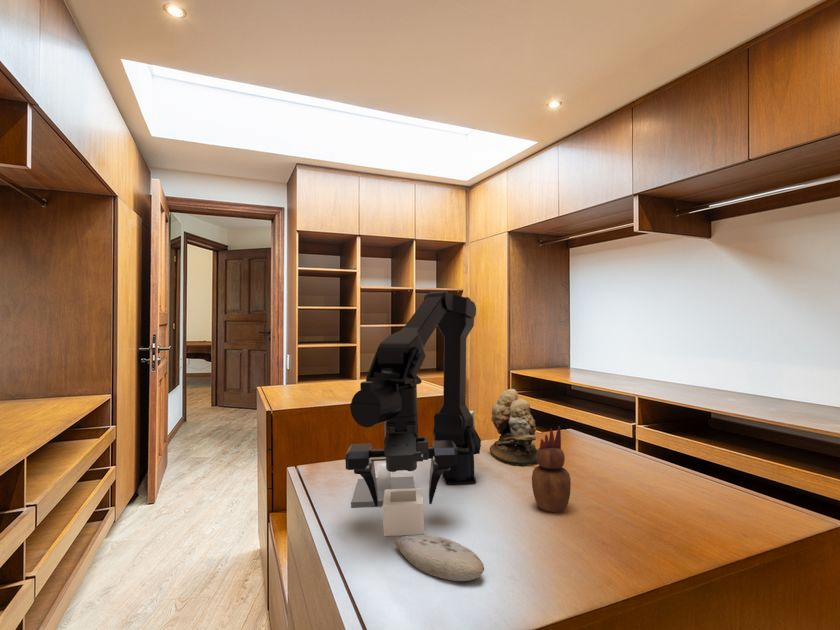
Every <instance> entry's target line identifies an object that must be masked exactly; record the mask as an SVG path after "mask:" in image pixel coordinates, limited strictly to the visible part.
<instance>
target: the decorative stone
mask: <svg viewBox="0 0 840 630" xmlns="http://www.w3.org/2000/svg"><path fill="white" fill-rule="evenodd" d="M394 545H395V547H396V548H397V549H398V550H399V551H400V553H401V554H402V555H403V556H404V558H405V559H406V560H407V561H408V562H409V563H410V564H411V565H412V566H414V568H417V569H419V570H420V571H421V572H423V573H426V574H428V575H430V576H433V577H436V578H440V579H444V580H447V581H448V580H449V581H453V582H454V581H455V582H469V581H473V580H476V579H478V578H479V577H480V576H482V574H483V573H484V571H485V567H484V563H483V561H482V559H481V558H480V557H479V556H478V555H477V553H475V552H474V551H472V549H470V548H468V547H467V546H465V545H462V544H461V543H458V542H456V541H455V540H452V539H449V538H445V537H441V536H438V535H437V536H436V535H427V534H419V535H398V536H397V537H396V538H395V540H394Z"/></svg>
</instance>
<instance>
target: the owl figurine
mask: <svg viewBox="0 0 840 630" xmlns="http://www.w3.org/2000/svg"><path fill="white" fill-rule="evenodd" d="M530 407H531V405H530V403H529V402H528V401H527V400H525V399H523V398H519V395H518V391H517V390H516V389H515V388H510V389H506V390H504V391H502V393H501V394H499V397H498V399H497V401H495V402H494V403H493V405H492V406H491V418H490V420H491V422H492V424H493V426H494V427H495V429H496V432H497V433H498V434H499V437H498V440H496V441H494V443H492V444H491V445H490V447H489V452H490V455H491V456H492V458H493V459H495V460H496V461H498V462H500V463H503V464H505V465H509V466H519V467H520V466H521V467H522V466H527V465H539V464H538V463H537V459H536V453H537V450H538V449H537V448H536V445H535V443H534V442H533V441H536V439H537V437H536V431H537V427H536V420H535V419H534V417H533V415H532V414H531V409H530Z"/></svg>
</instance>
